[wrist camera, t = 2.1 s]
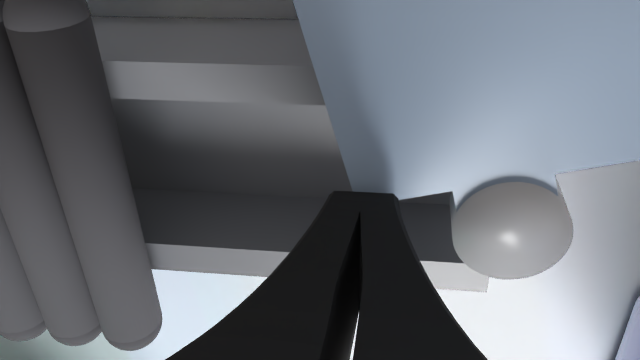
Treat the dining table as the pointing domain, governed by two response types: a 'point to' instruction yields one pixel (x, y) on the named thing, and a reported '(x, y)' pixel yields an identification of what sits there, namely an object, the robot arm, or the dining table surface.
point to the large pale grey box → (238, 146)
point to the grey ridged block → (66, 188)
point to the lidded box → (480, 109)
